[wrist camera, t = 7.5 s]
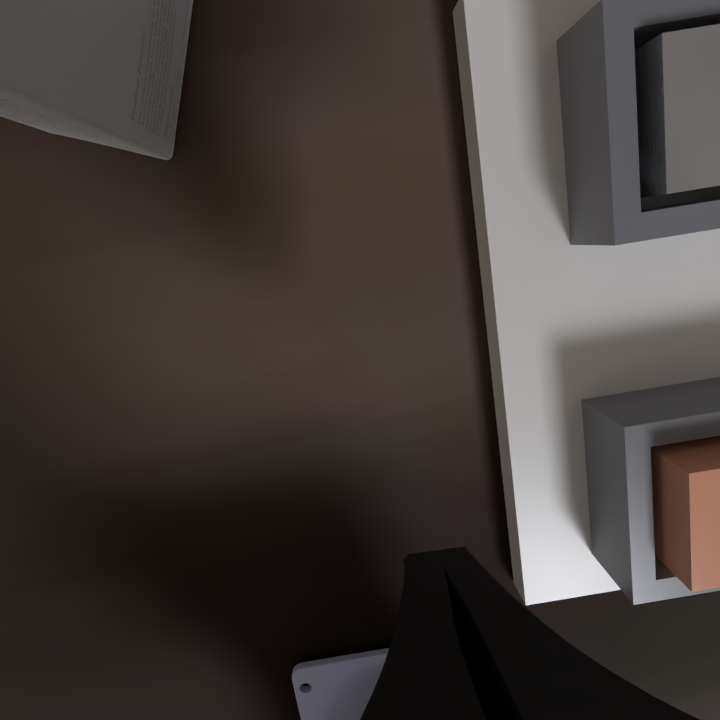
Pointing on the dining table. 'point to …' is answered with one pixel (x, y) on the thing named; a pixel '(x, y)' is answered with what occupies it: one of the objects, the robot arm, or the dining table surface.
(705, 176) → the button grey
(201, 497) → the dining table surface
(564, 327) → the console
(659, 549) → the button terracotta
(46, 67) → the skincare box
